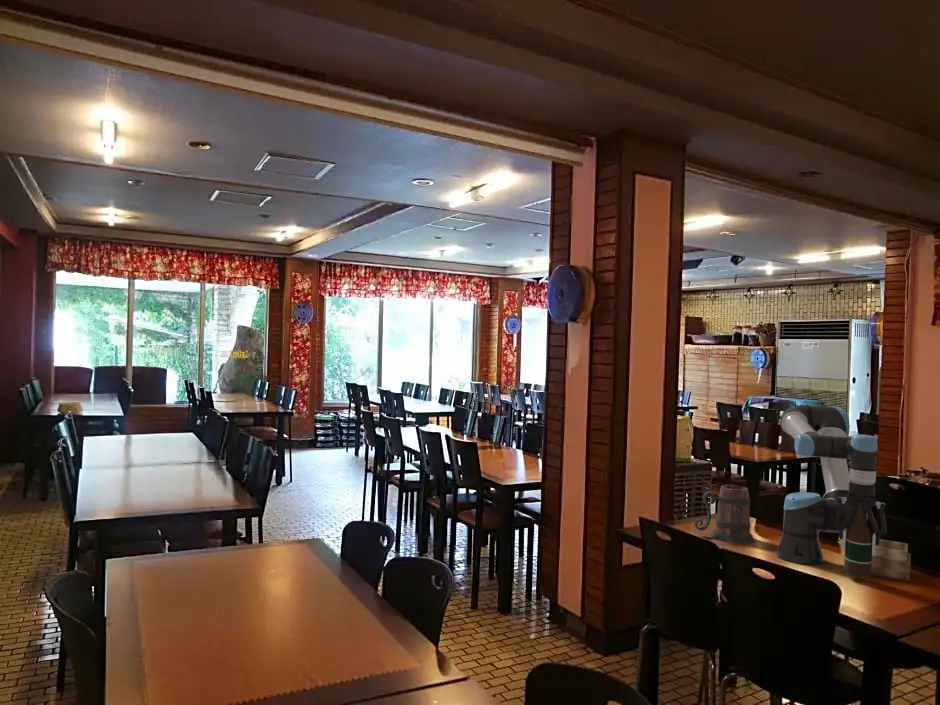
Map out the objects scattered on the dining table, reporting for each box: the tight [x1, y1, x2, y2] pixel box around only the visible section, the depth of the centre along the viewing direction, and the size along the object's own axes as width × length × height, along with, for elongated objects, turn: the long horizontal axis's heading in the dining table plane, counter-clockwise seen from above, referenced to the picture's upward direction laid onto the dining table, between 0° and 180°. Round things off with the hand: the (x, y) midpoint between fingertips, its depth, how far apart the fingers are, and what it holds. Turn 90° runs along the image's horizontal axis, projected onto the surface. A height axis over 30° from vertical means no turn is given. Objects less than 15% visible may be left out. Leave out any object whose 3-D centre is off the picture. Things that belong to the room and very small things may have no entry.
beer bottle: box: [843, 501, 873, 578], centre depth 228 cm, size 8×8×24 cm
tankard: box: [693, 484, 756, 544], centre depth 276 cm, size 24×17×20 cm
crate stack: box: [870, 538, 912, 583], centre depth 239 cm, size 15×15×9 cm
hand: (858, 551), depth 228 cm, fingers closed on beer bottle, 8 cm apart
